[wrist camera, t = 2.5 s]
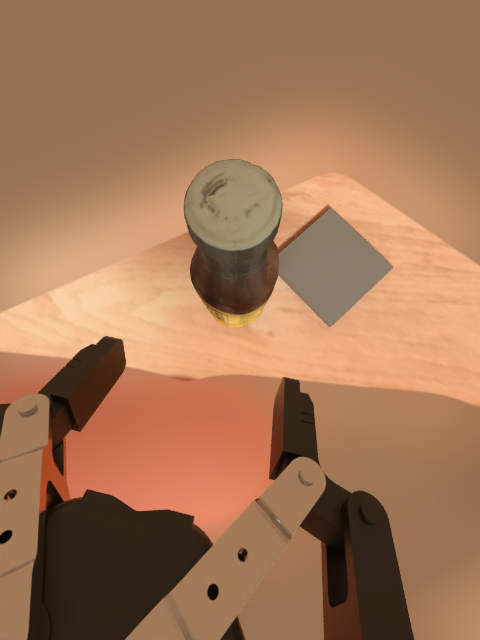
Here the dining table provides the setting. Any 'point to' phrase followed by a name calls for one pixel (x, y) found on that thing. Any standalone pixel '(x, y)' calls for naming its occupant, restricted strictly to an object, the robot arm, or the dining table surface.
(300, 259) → the rubber mat
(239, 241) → the sauce bottle
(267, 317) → the dining table surface
